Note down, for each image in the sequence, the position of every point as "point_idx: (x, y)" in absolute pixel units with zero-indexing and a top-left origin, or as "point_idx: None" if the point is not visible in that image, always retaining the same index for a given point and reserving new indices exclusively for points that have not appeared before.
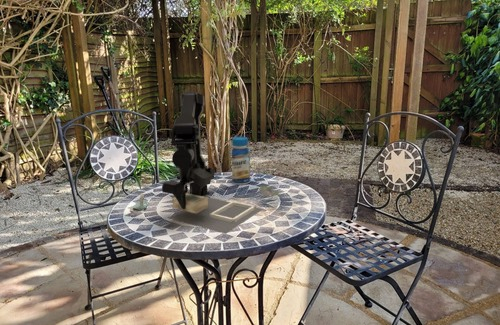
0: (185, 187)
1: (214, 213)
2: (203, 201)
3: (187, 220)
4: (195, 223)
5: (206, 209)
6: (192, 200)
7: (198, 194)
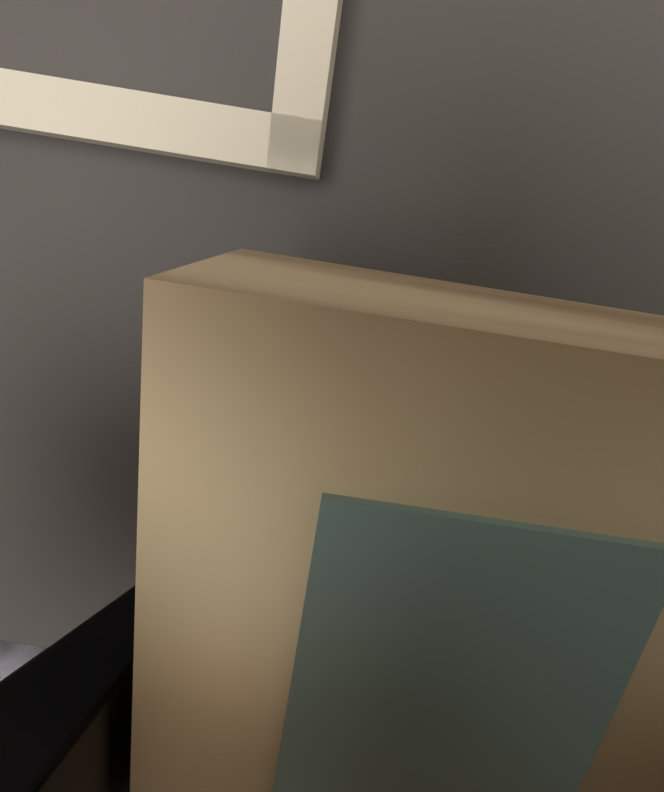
0: None
1: (228, 106)
2: (419, 310)
3: None
4: (625, 283)
5: (62, 409)
6: (642, 640)
7: (97, 720)
